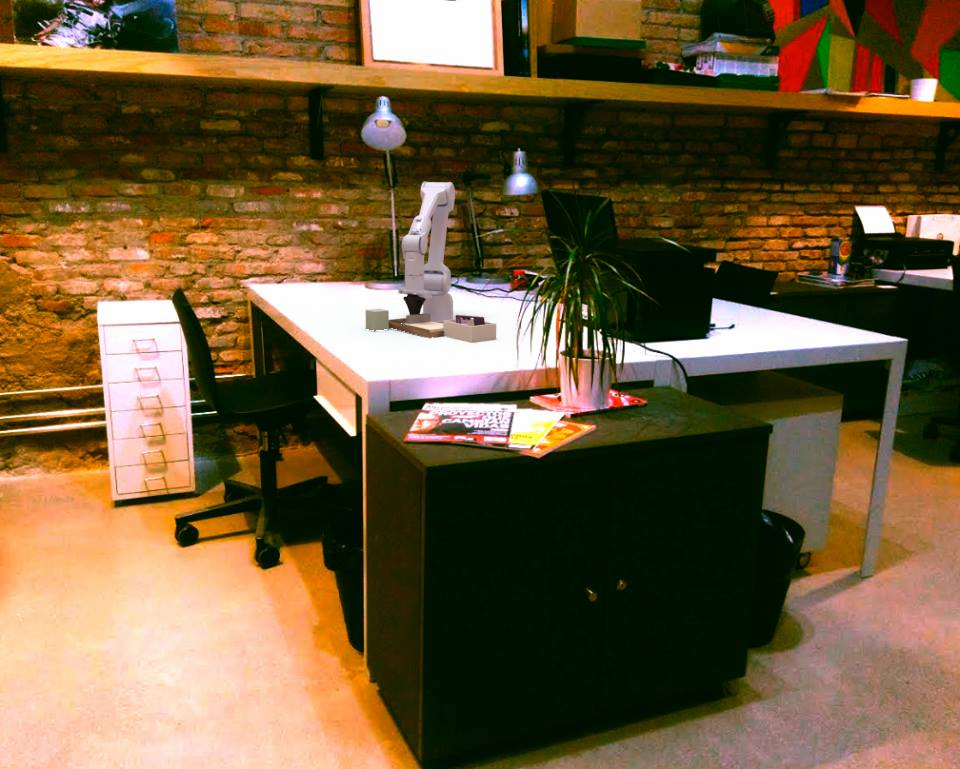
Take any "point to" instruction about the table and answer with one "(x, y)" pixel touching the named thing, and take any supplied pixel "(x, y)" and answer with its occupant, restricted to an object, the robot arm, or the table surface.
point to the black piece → (476, 319)
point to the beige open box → (469, 330)
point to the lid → (423, 322)
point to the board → (413, 328)
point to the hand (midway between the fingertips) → (414, 319)
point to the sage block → (377, 319)
